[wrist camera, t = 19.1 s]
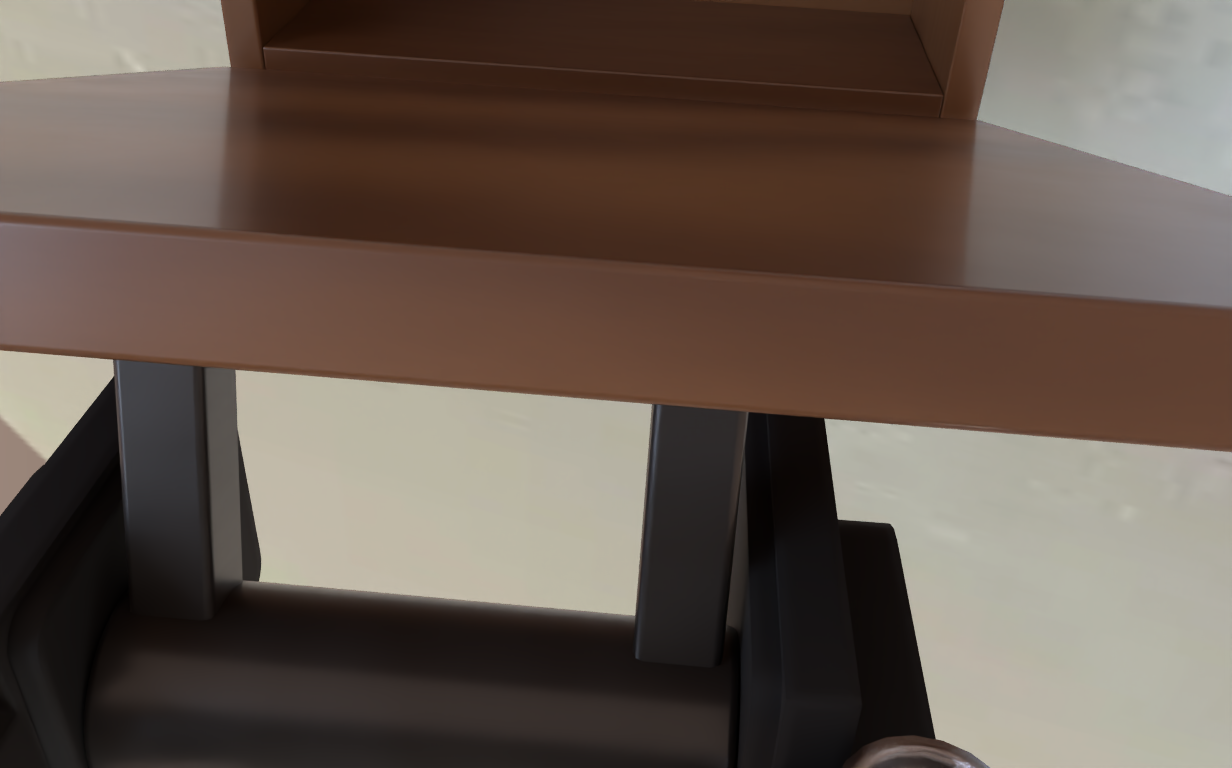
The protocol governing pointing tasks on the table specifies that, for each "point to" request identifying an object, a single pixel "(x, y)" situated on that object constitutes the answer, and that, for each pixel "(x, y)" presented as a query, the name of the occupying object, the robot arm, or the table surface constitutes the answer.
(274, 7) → the brown wooden open box
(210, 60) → the table surface
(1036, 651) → the table surface
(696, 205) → the lid
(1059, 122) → the table surface
